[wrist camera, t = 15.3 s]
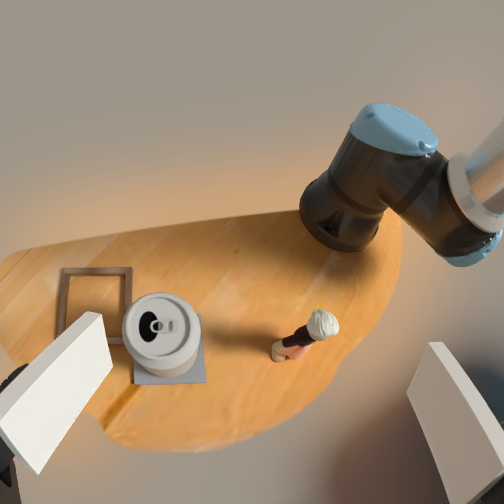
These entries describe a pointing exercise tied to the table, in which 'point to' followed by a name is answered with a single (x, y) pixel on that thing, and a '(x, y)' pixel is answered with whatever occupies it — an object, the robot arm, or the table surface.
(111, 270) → the brown square frame
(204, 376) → the coaster
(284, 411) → the table surface
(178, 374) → the can
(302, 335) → the grandmother figurine
